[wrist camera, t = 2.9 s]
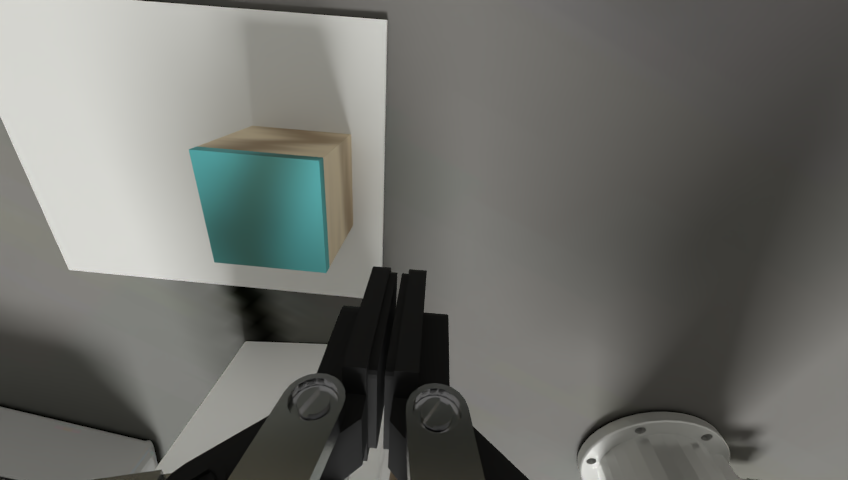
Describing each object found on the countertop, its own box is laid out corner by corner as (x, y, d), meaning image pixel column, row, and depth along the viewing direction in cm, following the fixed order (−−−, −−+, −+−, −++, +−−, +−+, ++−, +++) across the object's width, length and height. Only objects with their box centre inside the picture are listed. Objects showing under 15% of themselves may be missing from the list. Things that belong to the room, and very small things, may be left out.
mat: (387, 20, 19) (386, 19, 19) (381, 297, 28) (381, 300, 27) (-52, -14, 20) (-59, -15, 20) (72, 267, 28) (69, 269, 28)
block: (351, 134, 22) (319, 160, 16) (353, 225, 25) (326, 273, 19) (252, 125, 22) (188, 149, 17) (265, 216, 25) (214, 262, 19)
